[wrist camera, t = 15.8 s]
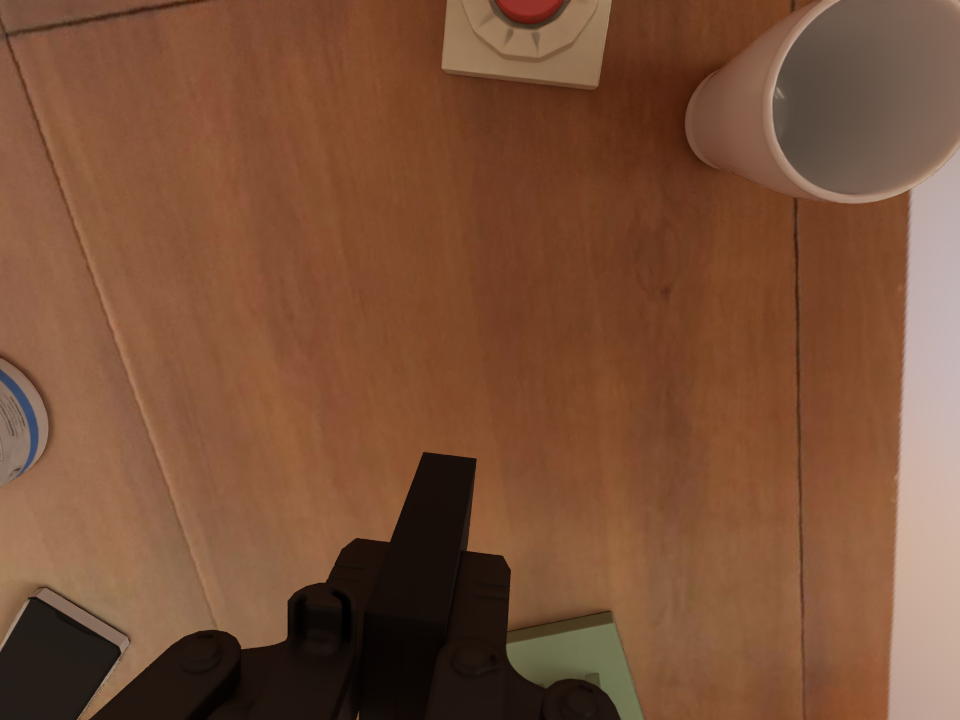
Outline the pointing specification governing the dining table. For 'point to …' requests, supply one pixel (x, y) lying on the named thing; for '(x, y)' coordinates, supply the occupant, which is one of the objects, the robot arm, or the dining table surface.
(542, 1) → the button
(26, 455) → the supplement tub
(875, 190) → the drinking glass
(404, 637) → the robot arm
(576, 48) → the button box
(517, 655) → the bracket
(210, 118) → the dining table surface
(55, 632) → the smartphone
